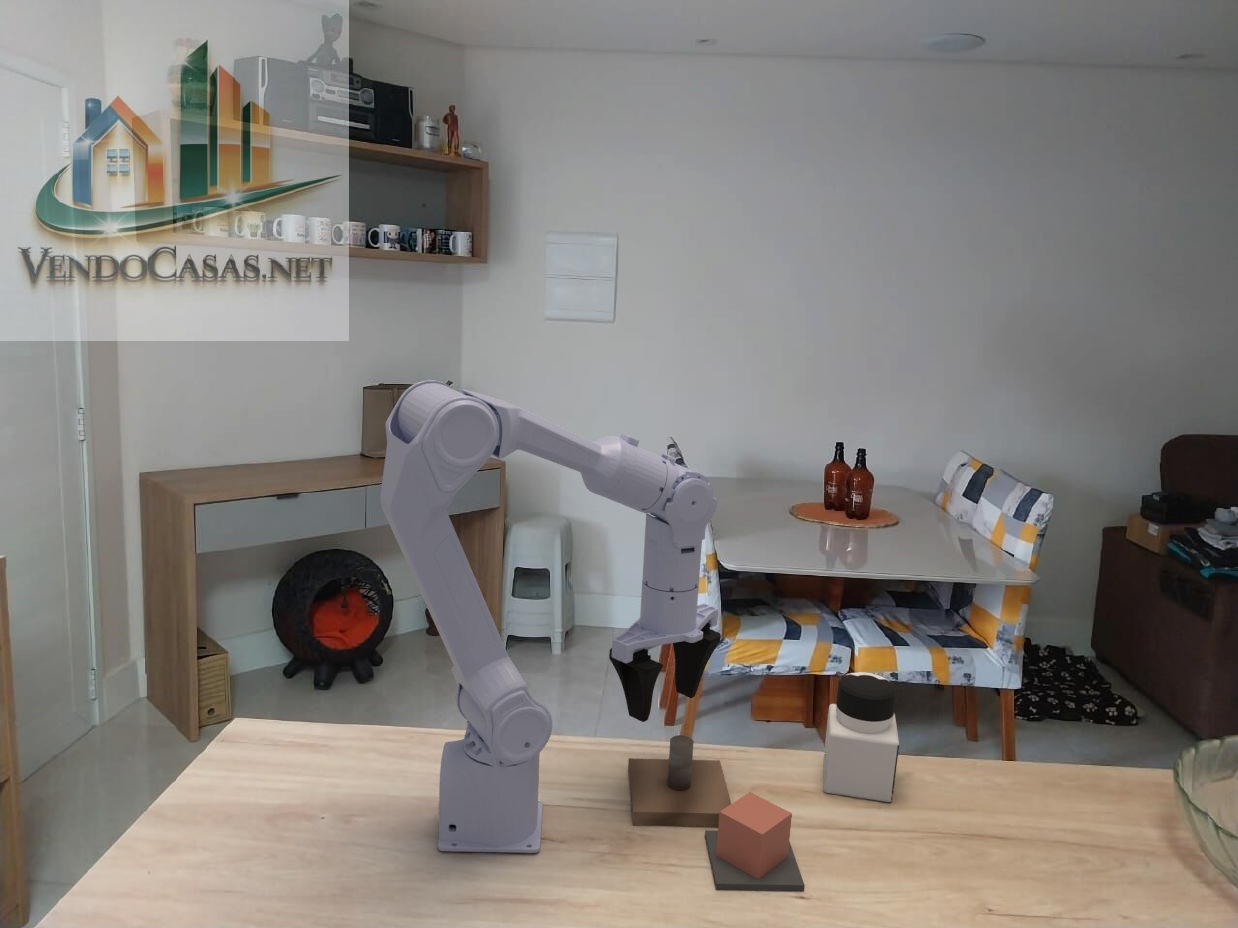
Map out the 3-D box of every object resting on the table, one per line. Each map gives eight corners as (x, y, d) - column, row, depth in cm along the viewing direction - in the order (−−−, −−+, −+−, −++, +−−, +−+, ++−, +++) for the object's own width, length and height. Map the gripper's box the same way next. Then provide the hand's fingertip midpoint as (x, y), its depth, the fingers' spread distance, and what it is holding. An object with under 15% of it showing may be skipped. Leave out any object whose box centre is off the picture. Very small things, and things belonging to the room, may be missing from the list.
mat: (715, 889, 87) (716, 883, 87) (704, 835, 95) (705, 830, 95) (804, 890, 88) (804, 884, 87) (785, 837, 95) (786, 831, 95)
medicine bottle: (892, 804, 102) (905, 699, 99) (823, 793, 103) (834, 690, 100) (888, 769, 109) (900, 670, 106) (823, 759, 110) (833, 661, 107)
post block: (632, 825, 96) (636, 765, 95) (627, 770, 106) (630, 716, 104) (732, 826, 97) (737, 768, 95) (718, 772, 106) (723, 718, 105)
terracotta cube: (758, 879, 88) (762, 834, 87) (716, 854, 91) (719, 811, 90) (787, 856, 91) (792, 813, 90) (746, 834, 94) (749, 791, 93)
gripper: (653, 611, 90) (645, 744, 93) (745, 576, 100) (735, 697, 103) (598, 590, 94) (592, 717, 98) (691, 559, 105) (683, 675, 108)
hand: (662, 705), depth 101 cm, fingers open, 7 cm apart
